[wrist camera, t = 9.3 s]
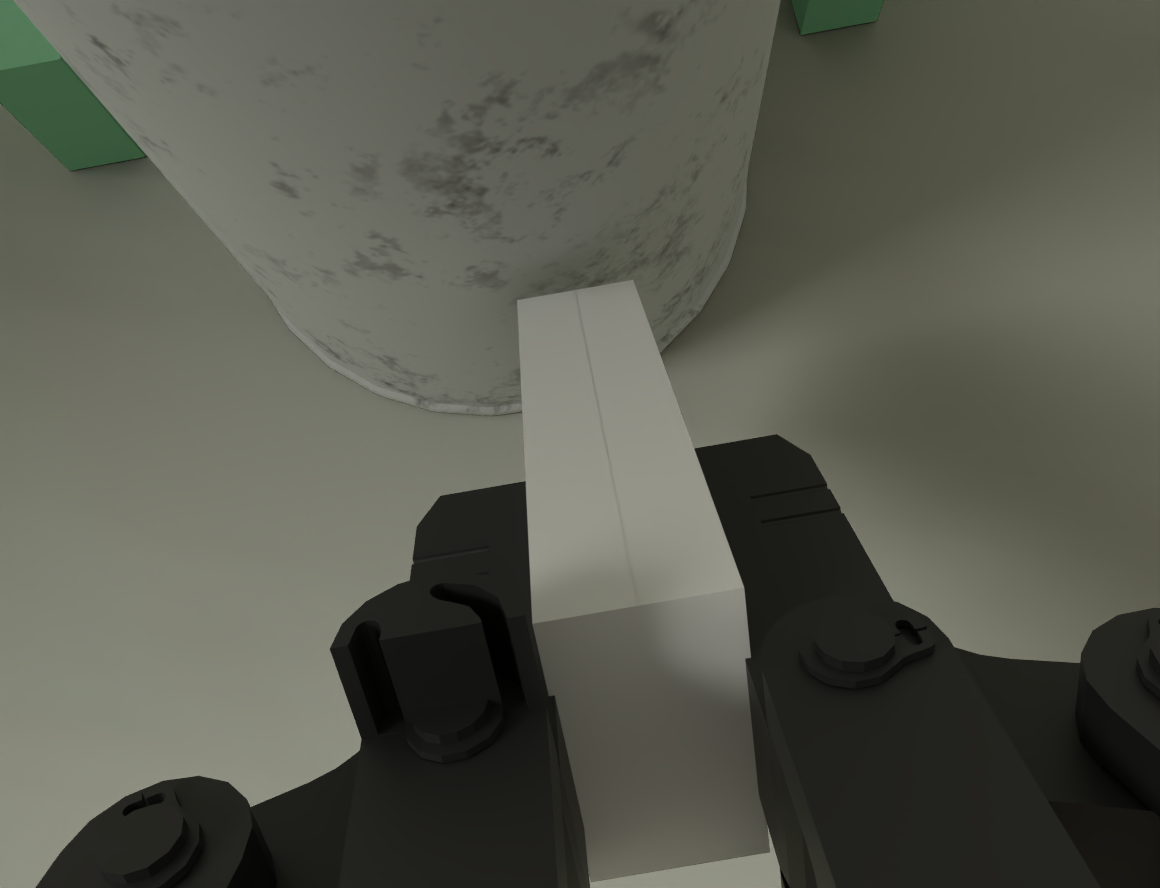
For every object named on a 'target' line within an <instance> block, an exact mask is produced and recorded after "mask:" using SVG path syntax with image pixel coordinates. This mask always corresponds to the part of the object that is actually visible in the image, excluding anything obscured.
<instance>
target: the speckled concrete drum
mask: <svg viewBox="0 0 1160 888" xmlns="http://www.w3.org/2000/svg"><path fill="white" fill-rule="evenodd" d="M13 1H14V2H15V3H16V4H17V5H18V7H19V8H20V9H21V10H22V11H23V12H24V14H25V15H26V16H27V17H28V18H29V19H30V21H31V22H32V23H33V24H34V25H35V26H36V27H37V29H38V30H39V31H40V32H41V33H42V34H43V36H44V37H45V38H46V39H47V40H48V41H49V43H50V44H51V45H52V46H53V47H54V48H55V50H56V51H57V52H58V53H59V54H60V55H61V56H62V58H63V59H64V60H65V61H66V62H67V63H68V65H69V66H70V67H71V68H72V69H73V70H74V72H75V73H76V74H77V75H78V76H79V77H80V79H81V80H82V81H83V82H84V83H85V84H86V85H87V87H88V88H89V89H90V90H91V91H92V92H93V94H94V95H95V96H96V97H97V98H98V99H99V101H100V102H101V103H102V104H103V105H104V106H105V108H106V109H107V110H108V111H109V112H110V113H111V114H112V116H113V117H114V118H115V119H116V120H117V121H118V123H119V124H120V125H121V126H122V127H123V128H124V130H125V131H126V132H127V133H128V134H129V135H130V137H131V138H132V139H133V140H134V141H135V142H136V143H137V145H138V146H139V147H140V148H141V149H142V150H143V152H144V153H145V154H146V155H147V156H148V157H149V159H150V160H151V161H152V162H153V163H154V164H155V166H156V167H157V168H158V169H159V170H160V171H161V172H162V174H163V175H164V176H165V177H166V178H167V179H168V181H169V182H170V183H171V184H172V185H173V186H174V188H175V189H176V190H177V191H178V192H179V193H180V195H181V196H182V197H183V198H184V199H185V200H186V201H187V203H188V204H189V205H190V206H191V207H192V208H193V210H194V211H195V212H196V213H197V214H198V215H199V217H200V218H201V219H202V220H203V221H204V222H205V224H206V225H207V226H208V227H209V228H210V229H211V230H212V232H213V233H214V234H215V235H216V236H217V237H218V239H219V240H220V241H221V242H222V243H223V244H224V246H225V247H226V248H227V249H228V250H229V251H230V253H231V254H232V255H233V256H234V257H235V258H236V259H237V261H238V262H239V263H240V264H241V265H242V266H243V268H244V269H245V270H246V271H247V272H248V273H249V275H250V276H251V277H252V278H253V279H254V280H255V282H256V283H257V284H258V285H259V286H260V287H261V288H262V290H263V291H264V292H265V293H266V294H267V295H268V297H269V298H270V299H271V301H272V303H273V304H274V306H275V307H276V309H277V311H278V312H279V314H280V315H281V317H282V319H283V320H284V322H285V323H286V325H287V327H288V328H289V329H290V330H291V331H292V332H293V333H294V334H295V335H296V336H297V337H298V338H299V339H300V340H301V341H302V342H303V343H305V344H306V345H307V346H308V347H309V348H310V349H311V350H312V351H313V352H314V353H315V354H316V355H317V356H318V357H319V358H320V359H321V360H322V361H323V362H324V363H325V364H327V365H328V366H329V367H330V368H332V369H333V370H335V371H337V372H339V373H340V374H342V375H344V376H346V377H347V378H349V379H351V380H353V381H354V382H356V383H358V384H360V385H361V386H363V387H365V388H366V389H368V390H370V391H372V392H373V393H375V394H377V395H379V396H383V397H386V398H389V399H393V400H396V401H399V402H403V403H406V404H410V405H413V406H416V407H420V408H423V409H426V410H430V411H433V412H445V413H460V414H475V415H489V416H496V415H502V414H509V413H516V412H522V394H521V373H520V352H519V331H518V310H517V300H521V299H526V298H532V297H538V296H544V295H549V294H555V293H561V292H567V291H572V290H578V289H584V288H589V287H595V286H601V285H607V284H612V283H618V282H624V281H630V280H633V281H634V284H635V286H636V289H637V292H638V295H639V297H640V300H641V303H642V306H643V309H644V311H645V314H646V317H647V320H648V322H649V325H650V328H651V331H652V333H653V336H654V339H655V342H656V345H657V347H658V350H659V353H661V352H662V351H663V350H664V349H665V348H666V347H667V346H668V345H669V344H670V343H671V341H672V340H673V339H674V338H675V337H676V336H677V335H678V334H679V333H680V332H681V331H682V330H683V329H684V328H685V327H686V326H687V325H688V324H689V323H690V322H691V321H692V320H693V319H694V318H695V317H696V316H697V315H698V314H699V313H700V312H701V310H702V308H703V307H704V305H705V304H706V302H707V300H708V299H709V297H710V295H711V294H712V292H713V290H714V289H715V287H716V285H717V284H718V282H719V280H720V279H721V277H722V275H723V274H724V272H725V270H726V269H727V267H728V265H729V263H730V260H731V257H732V254H733V250H734V247H735V244H736V241H737V237H738V234H739V231H740V228H741V224H742V221H743V218H744V215H745V211H746V196H747V176H748V168H749V162H750V157H751V152H752V147H753V142H754V137H755V131H756V126H757V121H758V116H759V111H760V105H761V100H762V95H763V90H764V85H765V79H766V74H767V69H768V64H769V59H770V54H771V48H772V43H773V38H774V33H775V28H776V22H777V17H778V12H779V7H780V2H781V0H13Z"/></svg>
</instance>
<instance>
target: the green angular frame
mask: <svg viewBox="0 0 1160 888" xmlns="http://www.w3.org/2000/svg"><path fill="white" fill-rule="evenodd" d="M791 1H792V5H793V9H794V12H795V16H796V19H797V23H798V27H799V30H800V34H801V35H804V34H809V33H814V32H820V31H825V30H830V29H836V28H841V27H847V26H852V25H857V24H863V23H868V22H873V21H877V19H878V16H879V13H880V10H881V7H882V4H883V1H884V0H791ZM0 103H1V104H2V105H3V106H4V107H5V108H6V109H7V110H8V111H9V112H10V113H11V114H12V115H13V116H14V117H15V118H16V119H17V120H18V121H19V122H20V123H21V124H22V125H23V126H24V127H25V128H26V129H27V130H28V131H30V132H31V133H32V134H33V135H34V136H35V137H36V138H37V139H38V140H39V141H40V142H41V143H42V144H43V145H44V146H45V147H46V148H47V149H48V150H49V151H50V152H51V153H52V154H53V155H54V156H55V157H56V158H57V159H58V160H59V161H60V162H61V163H62V164H63V165H64V166H65V167H66V168H67V169H68V170H69V171H72V170H77V169H82V168H88V167H93V166H99V165H104V164H109V163H115V162H120V161H126V160H131V159H136V158H142V157H145V153H144V152H143V150H142V149H141V148H140V147H139V146H138V145H137V143H136V142H135V141H134V140H133V139H132V138H131V137H130V135H129V134H128V133H127V132H126V131H125V130H124V128H123V127H122V126H121V125H120V124H119V123H118V121H117V120H116V119H115V118H114V117H113V116H112V114H111V113H110V112H109V111H108V110H107V109H106V108H105V106H104V105H103V104H102V103H101V102H100V101H99V99H98V98H97V97H96V96H95V95H94V94H93V92H92V91H91V90H90V89H89V88H88V87H87V85H86V84H85V83H84V82H83V81H82V80H81V79H80V77H79V76H78V75H77V74H76V73H75V72H74V70H73V69H72V68H71V67H70V66H69V65H68V63H67V62H66V61H65V60H64V59H63V58H62V56H61V55H60V54H59V53H58V52H57V51H56V50H55V48H54V47H53V46H52V45H51V44H50V43H49V41H48V40H47V39H46V38H45V37H44V36H43V34H42V33H41V32H40V31H39V30H38V29H37V27H36V26H35V25H34V24H33V23H32V22H31V21H30V19H29V18H28V17H27V16H26V15H25V14H24V12H23V11H22V10H21V9H20V8H19V7H18V5H17V4H16V3H15V2H14V1H13V0H0Z"/></svg>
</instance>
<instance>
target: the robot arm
mask: <svg viewBox="0 0 1160 888" xmlns="http://www.w3.org/2000/svg"><path fill="white" fill-rule="evenodd" d="M517 310H518V331H519V352H520V373H521V394H522V415H523V436H524V457H525V478H526V481H524V482H519V483H513V484H507V485H501V486H495V487H490V488H484V489H478V490H472V491H466V492H461V493H455V494H449V495H443V496H440V497H439V498H438V500H437V501H436V502H435V504H434V505H433V506H432V508H431V509H430V510H429V511H428V513H427V514H426V515H425V517H424V518H423V519H422V521H421V522H420V523H419V525H418V526H417V530H416V538H415V546H414V553H413V562H414V564H413V565H412V569H411V576H410V581H407V582H404V583H400V584H397V585H396V586H394V587H392V588H390V589H388V590H386V591H384V592H383V593H381V594H379V595H377V596H375V597H373V598H372V599H370V600H368V601H366V602H365V603H364V604H363V605H362V606H361V607H360V608H359V609H358V610H357V611H355V612H354V613H353V614H352V615H351V616H350V617H349V618H348V619H347V620H346V621H345V622H344V623H343V624H342V625H341V627H340V629H339V631H338V633H337V635H336V637H335V639H334V641H333V643H332V646H331V648H330V651H331V654H332V656H333V659H334V662H335V665H336V668H337V670H338V673H339V676H340V679H341V682H342V685H343V687H344V690H345V693H346V696H347V699H348V702H349V704H350V707H351V710H352V713H353V716H354V719H355V721H356V724H357V727H358V730H359V733H360V736H361V738H362V741H361V747H360V751H359V752H358V753H356V754H355V755H354V756H352V757H351V758H350V759H348V760H347V761H346V762H344V763H343V764H341V765H340V766H339V767H337V768H336V769H334V770H332V771H330V772H328V773H326V774H324V775H323V776H321V777H319V778H317V779H315V780H313V781H311V782H309V783H307V784H304V785H302V786H300V787H297V788H295V789H293V790H290V791H288V792H286V793H283V794H281V795H279V796H276V797H274V798H272V799H269V800H267V801H264V802H262V803H260V804H257V805H255V806H253V807H250V805H249V803H248V801H247V799H246V798H245V797H244V796H243V795H242V794H240V793H239V792H238V791H237V790H236V789H235V788H234V787H233V786H232V785H231V784H230V783H228V782H225V781H220V780H215V779H211V778H206V777H201V776H195V777H188V778H181V779H174V780H167V781H162V782H160V783H157V784H155V785H152V786H150V787H147V788H145V789H143V790H140V791H138V792H135V793H133V794H130V795H128V796H125V797H124V798H123V799H121V800H120V801H118V802H117V803H115V804H114V805H112V806H111V807H109V808H108V809H107V810H105V811H104V812H102V813H101V814H99V815H98V816H96V817H95V818H93V819H92V820H91V821H89V822H88V823H87V825H86V826H85V827H84V828H83V829H82V830H81V831H80V832H79V833H78V834H77V835H76V836H75V838H74V839H73V840H72V841H71V842H70V843H69V844H68V845H67V846H66V847H65V848H64V849H63V850H62V852H61V853H60V854H59V856H58V857H57V858H56V860H55V861H54V863H53V864H52V865H51V867H50V868H49V870H48V871H47V872H46V874H45V875H44V877H43V878H42V879H41V881H40V882H39V884H38V885H37V886H36V888H590V884H589V876H590V880H591V882H595V881H601V880H607V879H613V878H619V877H624V876H630V875H636V874H642V873H648V872H654V871H660V870H666V869H672V868H678V867H684V866H690V865H696V864H702V863H708V862H714V861H720V860H726V859H732V858H737V857H743V856H749V855H755V854H761V853H767V852H770V848H769V838H768V828H769V832H770V835H771V838H772V842H773V845H774V849H775V852H776V855H777V859H778V862H779V866H780V873H781V884H782V888H1160V608H1151V609H1146V610H1141V611H1136V612H1131V613H1126V614H1121V615H1117V616H1116V617H1114V618H1113V619H1111V620H1109V621H1108V622H1106V623H1104V624H1103V625H1101V626H1099V627H1098V628H1096V629H1095V630H1093V631H1092V633H1091V635H1090V637H1089V639H1088V641H1087V643H1086V645H1085V647H1084V649H1083V651H1082V653H1081V662H1080V663H1067V662H1051V661H1035V660H1019V659H1007V658H1000V657H992V656H985V655H979V654H976V653H972V652H969V651H965V650H962V649H959V648H955V647H954V646H953V645H952V643H951V642H950V640H949V638H948V637H947V636H946V635H945V634H944V633H943V632H942V631H941V630H940V629H939V628H938V627H937V626H936V625H935V624H934V623H933V622H932V621H931V620H930V619H929V618H928V617H927V616H925V615H923V614H921V613H919V612H917V611H915V610H913V609H911V608H909V607H907V606H905V605H902V604H900V603H898V602H894V601H893V599H892V598H891V596H890V594H889V592H888V591H887V589H886V587H885V585H884V583H883V582H882V580H881V578H880V576H879V575H878V573H877V571H876V569H875V568H874V566H873V564H872V562H871V561H870V559H869V557H868V555H867V554H866V552H865V550H864V548H863V547H862V545H861V543H860V541H859V540H858V538H857V536H856V534H855V532H854V531H853V529H852V527H851V525H850V524H849V522H848V520H847V518H846V517H845V515H844V513H843V514H841V510H840V506H839V504H838V503H837V501H836V499H835V497H834V496H833V494H832V492H831V490H830V489H828V488H827V483H826V481H825V480H824V478H823V476H822V474H821V473H820V471H819V469H818V467H817V466H816V464H815V462H814V460H813V459H812V457H811V455H809V454H808V453H806V452H805V451H803V450H801V449H800V448H798V447H796V446H795V445H793V444H792V443H790V442H788V441H787V440H785V439H783V438H782V437H780V436H779V435H777V434H776V435H771V436H765V437H759V438H753V439H747V440H742V441H736V442H730V443H724V444H718V445H713V446H707V447H701V448H695V449H694V447H693V444H692V442H691V439H690V436H689V433H688V430H687V428H686V425H685V422H684V419H683V417H682V414H681V411H680V408H679V406H678V403H677V400H676V397H675V394H674V392H673V389H672V386H671V383H670V381H669V378H668V375H667V372H666V369H665V367H664V364H663V361H662V358H661V356H660V353H659V350H658V347H657V345H656V342H655V339H654V336H653V333H652V331H651V328H650V325H649V322H648V320H647V317H646V314H645V311H644V309H643V306H642V303H641V300H640V297H639V295H638V292H637V289H636V286H635V284H634V281H633V280H630V281H624V282H618V283H612V284H607V285H601V286H595V287H589V288H584V289H578V290H572V291H567V292H561V293H555V294H549V295H544V296H538V297H532V298H526V299H521V300H517ZM767 825H768V827H767ZM588 871H589V873H588Z"/></svg>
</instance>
